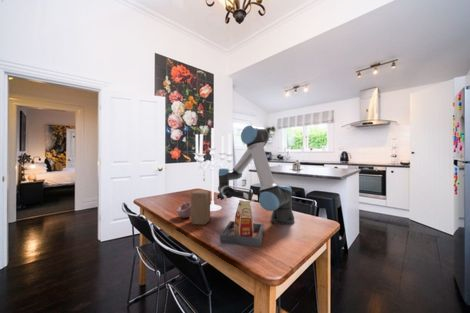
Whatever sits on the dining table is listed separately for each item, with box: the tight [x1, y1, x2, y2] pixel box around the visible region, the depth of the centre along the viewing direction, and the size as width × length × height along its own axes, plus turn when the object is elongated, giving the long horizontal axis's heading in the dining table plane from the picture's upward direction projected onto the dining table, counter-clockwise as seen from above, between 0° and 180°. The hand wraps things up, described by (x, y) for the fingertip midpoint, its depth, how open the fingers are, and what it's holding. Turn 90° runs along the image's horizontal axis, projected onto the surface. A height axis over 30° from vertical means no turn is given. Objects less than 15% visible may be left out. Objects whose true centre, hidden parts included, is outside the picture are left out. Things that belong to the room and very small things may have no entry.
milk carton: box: [233, 199, 255, 237], centre depth 103 cm, size 9×9×20 cm
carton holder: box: [220, 220, 265, 248], centre depth 104 cm, size 20×20×4 cm
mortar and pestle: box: [175, 200, 191, 219], centre depth 134 cm, size 12×12×12 cm
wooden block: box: [190, 189, 211, 226], centre depth 125 cm, size 10×10×20 cm
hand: (236, 197), depth 113 cm, fingers open, 13 cm apart
